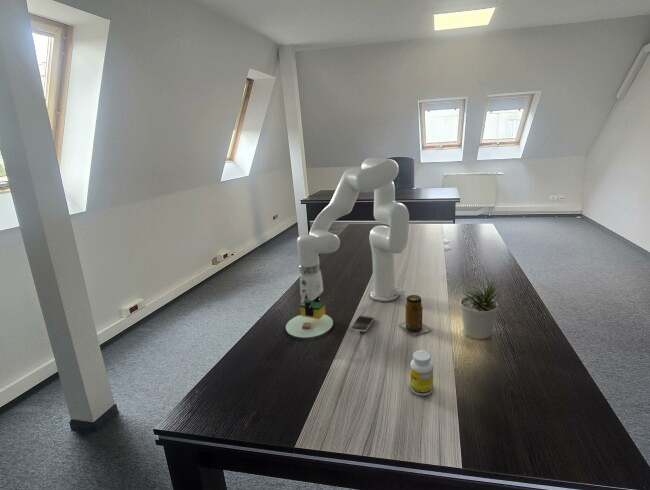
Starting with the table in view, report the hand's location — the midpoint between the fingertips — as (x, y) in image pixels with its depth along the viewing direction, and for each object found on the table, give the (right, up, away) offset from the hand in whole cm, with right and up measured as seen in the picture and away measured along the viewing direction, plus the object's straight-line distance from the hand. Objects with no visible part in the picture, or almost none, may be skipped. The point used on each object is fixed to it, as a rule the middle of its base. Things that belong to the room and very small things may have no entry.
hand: (313, 311), depth 139 cm
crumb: (-2, -5, -4) cm, 7 cm away
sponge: (0, -1, 0) cm, 1 cm away
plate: (-1, -5, -2) cm, 6 cm away
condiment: (+38, -5, -7) cm, 39 cm away
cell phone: (+19, -5, -3) cm, 20 cm away
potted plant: (+60, -5, -12) cm, 61 cm away
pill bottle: (+35, -14, -37) cm, 53 cm away
